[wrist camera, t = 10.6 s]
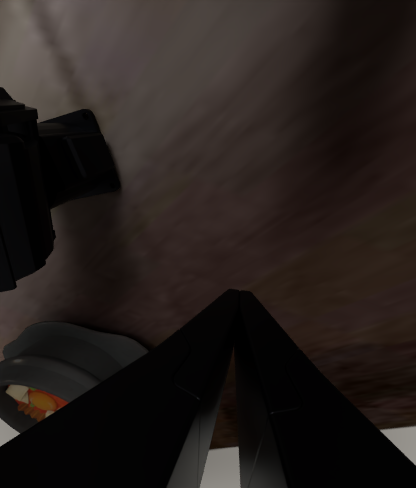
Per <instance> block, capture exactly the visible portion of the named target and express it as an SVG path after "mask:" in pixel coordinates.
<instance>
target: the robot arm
mask: <svg viewBox="0 0 416 488" xmlns="http://www.w3.org/2000/svg"><path fill="white" fill-rule="evenodd" d="M86 113H87V114H88V117H89V118H88V119H87V118H86ZM36 119H38V113H37V109H36V108H31V107H26V106H25V104H23V103H19V102H16V100H13V99H12V98H11V97H10V95H9V94H8V93H7V92H6V91H5V89H4V88H2V87H0V292H4V291H9V290H13V289H15V288H16V287H17V285H16V281H17V280H19V279H21V278H24V277H26V276H28V275H30V274H33V273H34V272H36V271H37V270H39V269H40V268H42V267H43V266H45V264H46V261H45V260H46V259H47V258H48V256H49V255H50V254H51V252H52V251H53V248H54V239H55V238H56V235H55V230H53V225H52V218H51V212H50V209H52V208H54V207H57V206H59V205H61V204H63V203H65V202H68V201H70V200H73V199H78V198H83V197H88V196H93V195H98V194H103V193H108V192H113V191H116V190H118V189H119V188H120V182H119V180H118V177H117V174H116V172H115V169H114V163H113V161H112V158H111V155H110V153H109V150H108V147H107V145H106V142H105V139H104V137H103V135H102V134H101V132H100V130H99V127H98V124H97V122H96V119H95V116H94V114H93V112H92V111H91V110H89V109H82V110H78V111H75V112H72V113H69V114H66V115H62V116H59V117H56V118H53V119H50V120H46V121H43V122H40V123H37V120H36ZM112 183H114V184H115V186H116V187H114V186H113V185H112ZM234 340H235V342H234ZM233 347H234V357H235V379H236V400H237V421H238V442H239V461H240V484H241V488H416V465H414V463H413V462H411V461H410V460H409V459H408V458H407V457H406V456H405V455H404V454H403V453H402V452H401V451H400V450H399V449H398V448H397V447H396V446H395V445H394V444H393V443H392V442H391V441H390V440H389V439H388V438H387V437H386V436H385V435H384V434H383V433H382V432H381V431H380V430H379V429H378V428H377V427H376V426H375V425H374V424H373V423H372V422H371V421H370V420H368V419H367V418H366V417H365V416H364V415H363V414H362V413H361V412H360V411H359V410H358V409H357V408H356V407H355V406H354V405H353V404H352V403H351V402H350V401H349V400H348V399H347V398H346V397H345V396H344V395H343V394H342V393H341V392H340V391H339V390H338V389H337V388H336V387H335V386H334V385H333V384H332V383H331V382H330V381H329V380H328V379H327V378H326V377H325V376H324V375H323V374H322V373H321V372H320V371H319V370H318V369H317V367H316V366H315V365H314V364H313V363H312V362H311V361H310V360H309V359H308V357H307V356H306V355H305V354H304V353H303V352H302V350H299V347H298V346H297V345H296V344H295V343H294V342H293V340H292V339H291V338H290V337H289V336H288V335H287V333H286V332H285V331H284V330H283V329H282V327H281V326H280V325H279V324H278V323H277V322H276V320H275V319H274V318H273V317H272V316H271V315H270V313H269V312H268V311H267V310H266V309H265V307H264V306H263V305H262V304H261V303H260V302H259V300H258V299H257V298H256V297H255V296H254V295H253V293H252V292H250V291H243V290H241V291H239V290H236V289H228V290H227V291H226V292H224V293H223V294H222V295H221V296H219V297H218V298H217V299H216V300H215V301H213V302H212V303H211V304H210V305H208V306H207V307H206V308H205V309H204V310H202V311H201V312H200V313H199V314H197V315H196V316H195V317H194V318H193V319H191V320H190V321H189V322H188V323H187V324H185V325H184V326H183V327H182V328H180V330H177V331H176V332H175V333H174V334H173V335H171V336H170V337H169V338H167V339H166V340H165V341H163V342H162V343H161V344H159V345H158V346H157V347H155V348H154V349H152V350H151V351H149V352H148V353H146V354H145V355H143V356H142V357H140V358H138V359H137V360H135V361H134V362H132V363H131V364H129V365H127V366H126V367H124V368H123V369H121V370H120V371H118V372H116V373H115V374H113V375H112V376H110V377H109V378H107V379H105V380H104V381H102V382H101V383H99V384H98V385H96V386H94V387H93V388H91V389H90V390H88V391H87V392H85V393H84V394H82V395H80V396H79V397H77V398H76V399H74V400H73V401H71V402H69V403H68V404H66V405H65V406H63V407H62V408H60V409H58V410H57V411H55V412H54V413H52V414H51V415H49V416H47V417H46V418H44V419H43V420H41V421H40V422H38V423H36V424H35V425H33V426H32V427H30V428H29V429H27V430H25V431H24V432H22V433H21V434H19V435H18V436H16V437H14V438H13V439H12V440H10V441H9V442H7V443H5V444H4V445H2V446H1V447H0V488H199V487H200V484H201V480H202V475H203V471H204V467H205V463H206V459H207V455H208V451H209V447H210V443H211V439H212V434H213V430H214V426H215V422H216V418H217V414H218V410H219V406H220V402H221V397H222V393H223V389H224V385H225V381H226V377H227V373H228V369H229V365H230V361H231V356H232V352H233Z"/></svg>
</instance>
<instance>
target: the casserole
mask: <svg viewBox="0 0 416 488" xmlns="http://www.w3.org/2000/svg"><path fill="white" fill-rule="evenodd" d="M148 352H149V351H148V350H147V349H146V348H145V347H143V346H142V345H141V344H140V343H138V342H137V341H135V340H134V339H131V338H129V337H127V336H123V335H117V334H111V333H104V332H98V331H95V330H91V329H88V328H85V327H81V326H78V325H74V324H71V323H65V322H58V321H44V322H40V323H36V324H33V325H31V326H29V327H27V328H26V329H25V330H24V331H23V332H22V334H21V335H20V336H19V337H18V338H17V339H16V340H14V341H13V342H11V343H9V344H7V345H6V346H4V350H3V355H4V358H5V360H3V361H1V362H0V418H1V419H2V420H3V421H4V422H6V423H7V424H8V425H9V426H10V427H12V428H13V429H15V430H16V431H18V432H19V433H20V434H21V433H22V432H24V431H25V430H27V429H29V428H30V427H32V426H33V425H35V424H36V423H38V422H40V421H41V420H43V419H44V418H46V417H47V416H49V415H51V414H52V413H54V412H55V411H57V410H58V409H60V408H62V407H63V406H65V405H66V404H68V403H69V402H71V401H73V400H74V399H76V398H77V397H79V396H80V395H82V394H84V393H85V392H87V391H88V390H90V389H91V388H93V387H94V386H96V385H98V384H99V383H101V382H102V381H104V380H105V379H107V378H109V377H110V376H112V375H113V374H115V373H116V372H118V371H120V370H121V369H123V368H124V367H126V366H127V365H129V364H131V363H132V362H134V361H135V360H137V359H138V358H140V357H142V356H143V355H145V354H146V353H148Z"/></svg>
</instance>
